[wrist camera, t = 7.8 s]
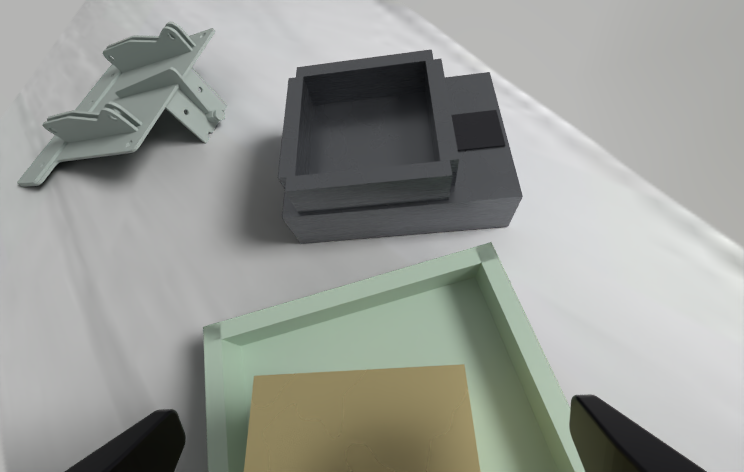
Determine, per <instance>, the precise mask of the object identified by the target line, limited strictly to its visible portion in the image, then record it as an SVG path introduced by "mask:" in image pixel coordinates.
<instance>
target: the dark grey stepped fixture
mask: <svg viewBox="0 0 744 472" xmlns="http://www.w3.org/2000/svg"><path fill="white" fill-rule="evenodd" d="M278 179H279V180H280V182H281V184H282V185H283V187H284V188H285V193H284V204H283V214H282V219H283V220H284V221H285V223H286V224H287V226H288V227H289V228H290V230H291V231H292V232H293V234H294V235H295V237H296V238H297V239H298V241H299V242H300V243H301V244H302V243H314V242H326V241H338V240H350V239H362V238H375V237H387V236H399V235H411V234H423V233H435V232H447V231H460V230H472V229H484V228H496V227H508V225H509V223H510V221H511V219H512V217H513V215H514V213H515V211H516V209H517V207H518V205H519V203H520V201H521V199H522V197H523V196H522V192H521V188H520V185H519V181H518V177H517V173H516V170H515V166H514V162H513V158H512V155H511V151H510V147H509V143H508V140H507V136H506V132H505V128H504V124H503V121H502V117H501V113H500V109H499V106H498V102H497V98H496V94H495V91H494V87H493V83H492V79H491V76H490V72H487V73H479V74H471V75H463V76H454V77H446V78H445V77H444V71H443V66H442V60H441V59H435V60H433V54H432V50H424V51H417V52H409V53H402V54H394V55H387V56H379V57H372V58H364V59H357V60H349V61H341V62H334V63H326V64H319V65H311V66H304V67H297V72H296V78H289V81H288V90H287V99H286V108H285V117H284V126H283V136H282V145H281V154H280V163H279V172H278Z"/></svg>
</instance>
